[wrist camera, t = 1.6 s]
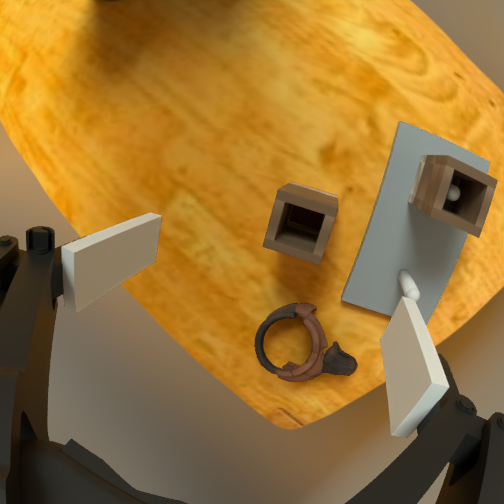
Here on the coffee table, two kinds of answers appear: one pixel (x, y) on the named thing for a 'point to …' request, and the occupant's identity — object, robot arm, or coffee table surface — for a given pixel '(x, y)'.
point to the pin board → (407, 233)
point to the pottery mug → (317, 361)
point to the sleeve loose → (295, 235)
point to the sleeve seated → (436, 187)
